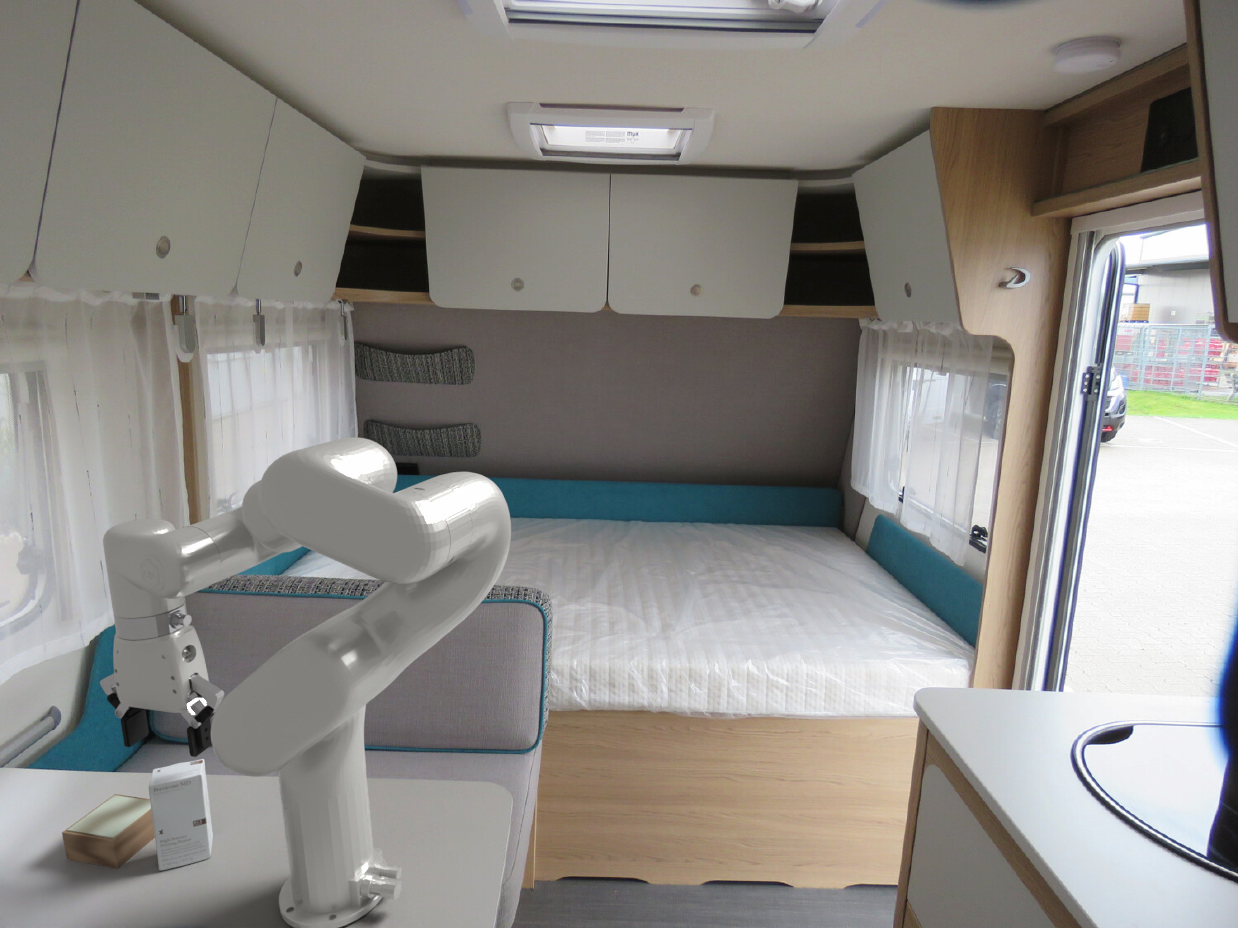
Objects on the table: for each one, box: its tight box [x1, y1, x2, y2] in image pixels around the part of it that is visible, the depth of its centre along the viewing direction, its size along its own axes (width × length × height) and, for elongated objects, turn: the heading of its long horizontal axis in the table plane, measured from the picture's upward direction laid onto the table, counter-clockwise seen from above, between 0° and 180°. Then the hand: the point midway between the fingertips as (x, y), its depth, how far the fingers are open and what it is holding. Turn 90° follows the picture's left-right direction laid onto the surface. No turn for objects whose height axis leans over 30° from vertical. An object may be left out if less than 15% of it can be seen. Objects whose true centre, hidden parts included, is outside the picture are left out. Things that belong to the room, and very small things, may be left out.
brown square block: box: [61, 793, 155, 869], centre depth 100 cm, size 8×8×4 cm
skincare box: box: [148, 758, 214, 871], centre depth 97 cm, size 6×4×12 cm
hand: (169, 745), depth 95 cm, fingers open, 9 cm apart
